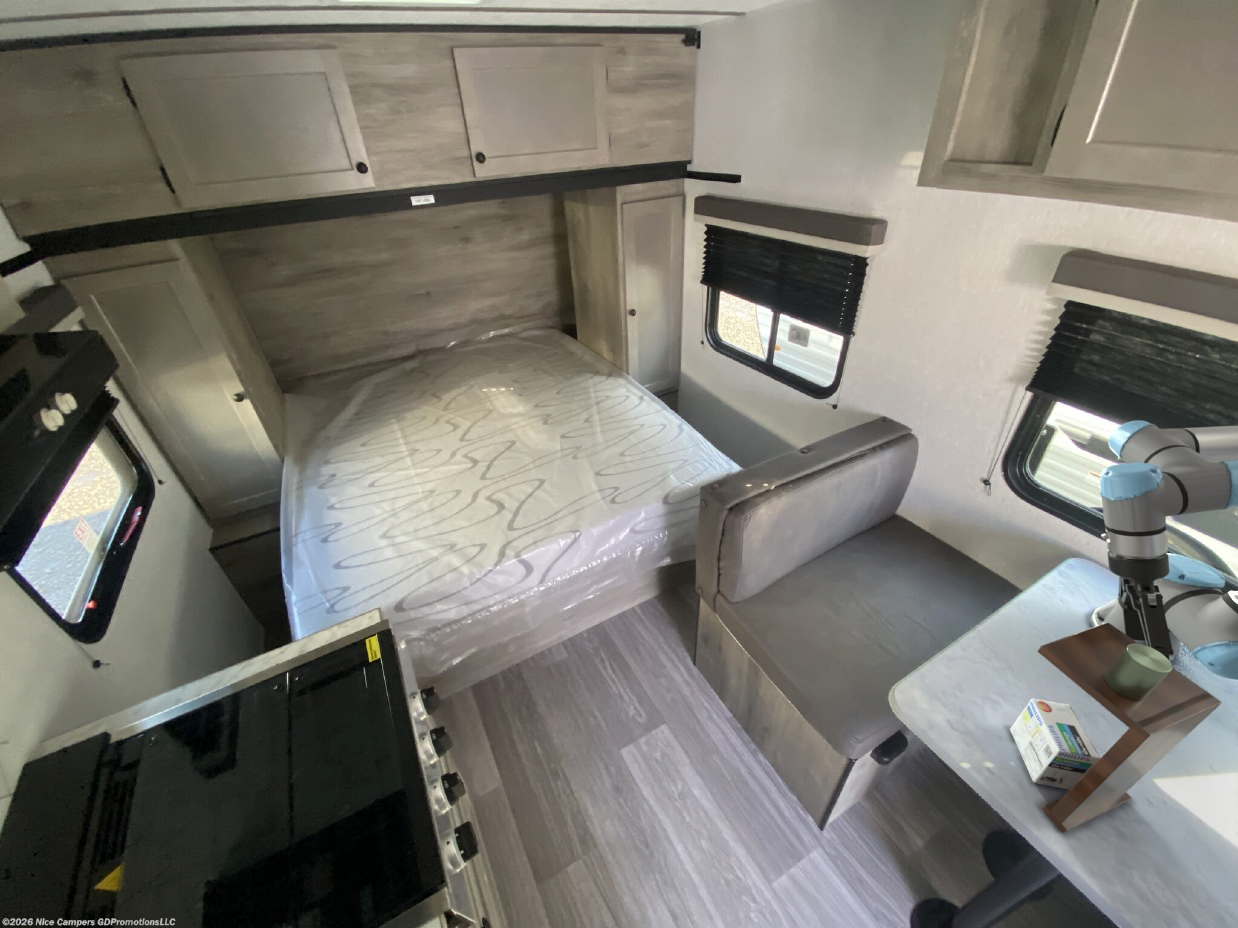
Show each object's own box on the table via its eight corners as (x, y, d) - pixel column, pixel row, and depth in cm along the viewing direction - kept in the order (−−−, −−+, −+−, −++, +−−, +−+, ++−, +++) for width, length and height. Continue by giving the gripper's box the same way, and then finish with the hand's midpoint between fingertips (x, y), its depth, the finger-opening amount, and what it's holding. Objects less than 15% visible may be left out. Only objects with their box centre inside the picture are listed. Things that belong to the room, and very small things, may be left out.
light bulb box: (1073, 791, 93) (1104, 760, 87) (1032, 783, 94) (1059, 752, 88) (1045, 734, 101) (1070, 702, 96) (1007, 728, 103) (1030, 696, 97)
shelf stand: (1036, 715, 105) (1129, 593, 86) (1128, 801, 91) (1263, 679, 72) (977, 739, 101) (1060, 617, 82) (1064, 833, 87) (1188, 713, 68)
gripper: (1091, 526, 102) (1102, 622, 105) (1127, 583, 81) (1139, 700, 85) (1144, 524, 97) (1153, 624, 101) (1195, 584, 77) (1205, 707, 80)
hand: (1146, 659), depth 93 cm, fingers open, 13 cm apart
